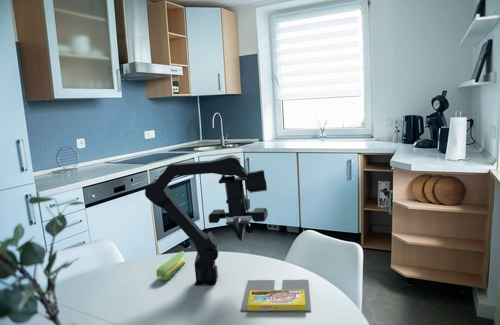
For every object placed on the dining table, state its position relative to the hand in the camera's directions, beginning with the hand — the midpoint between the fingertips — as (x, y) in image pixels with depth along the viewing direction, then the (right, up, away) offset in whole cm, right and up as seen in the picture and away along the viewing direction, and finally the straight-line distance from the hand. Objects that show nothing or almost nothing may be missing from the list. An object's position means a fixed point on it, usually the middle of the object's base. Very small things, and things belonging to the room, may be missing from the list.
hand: (241, 240), depth 121 cm
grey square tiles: (+11, -14, -11) cm, 21 cm away
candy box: (+11, -13, -12) cm, 21 cm away
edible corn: (-24, -14, +11) cm, 30 cm away
